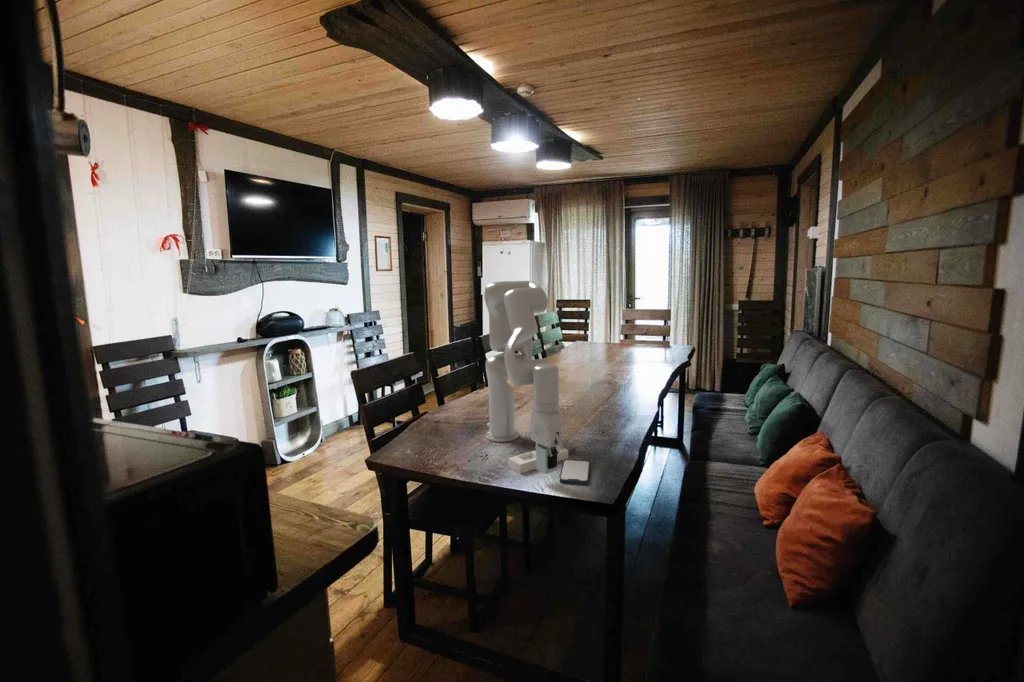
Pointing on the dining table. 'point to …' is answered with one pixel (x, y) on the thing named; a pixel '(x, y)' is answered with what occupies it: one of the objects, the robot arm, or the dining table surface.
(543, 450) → the block
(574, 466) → the smartphone
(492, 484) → the dining table surface
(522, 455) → the power strip
